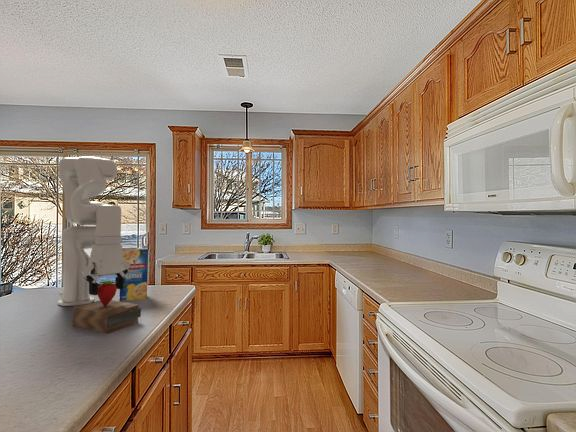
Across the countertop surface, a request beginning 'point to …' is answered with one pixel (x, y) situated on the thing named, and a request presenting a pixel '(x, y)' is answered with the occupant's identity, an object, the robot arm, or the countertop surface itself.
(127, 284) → the blue yellow food box
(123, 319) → the brown wooden block
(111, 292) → the strawberry
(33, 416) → the countertop surface
